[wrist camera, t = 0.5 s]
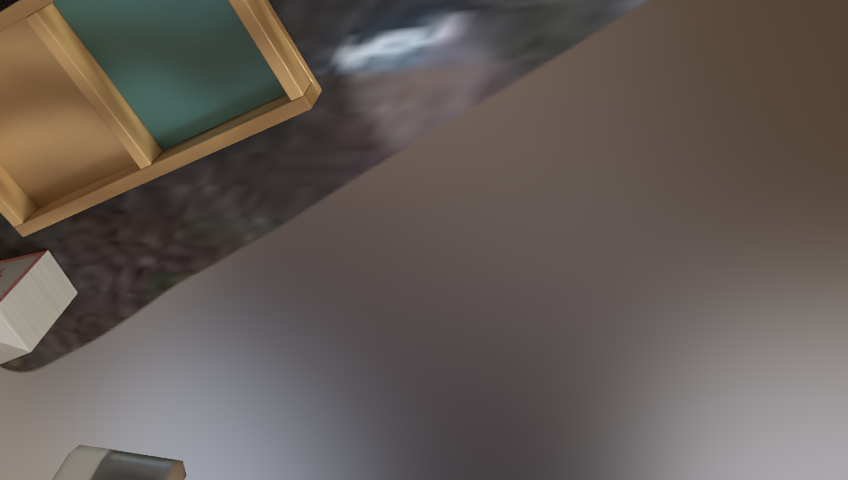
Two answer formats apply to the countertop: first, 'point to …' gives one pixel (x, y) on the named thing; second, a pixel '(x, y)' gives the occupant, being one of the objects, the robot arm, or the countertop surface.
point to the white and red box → (30, 301)
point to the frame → (132, 94)
